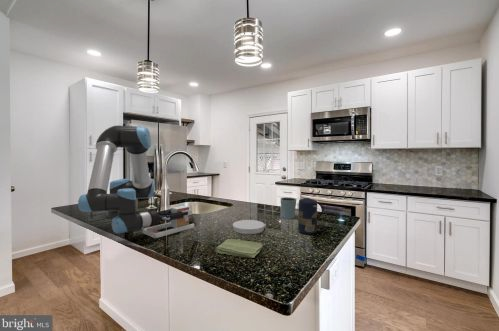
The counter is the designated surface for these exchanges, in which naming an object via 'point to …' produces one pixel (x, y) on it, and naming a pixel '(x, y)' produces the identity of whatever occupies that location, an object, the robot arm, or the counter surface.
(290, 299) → the counter surface
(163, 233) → the guide channel
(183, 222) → the small box
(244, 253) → the washcloth
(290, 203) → the drinking glass
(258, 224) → the lid
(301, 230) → the canister
